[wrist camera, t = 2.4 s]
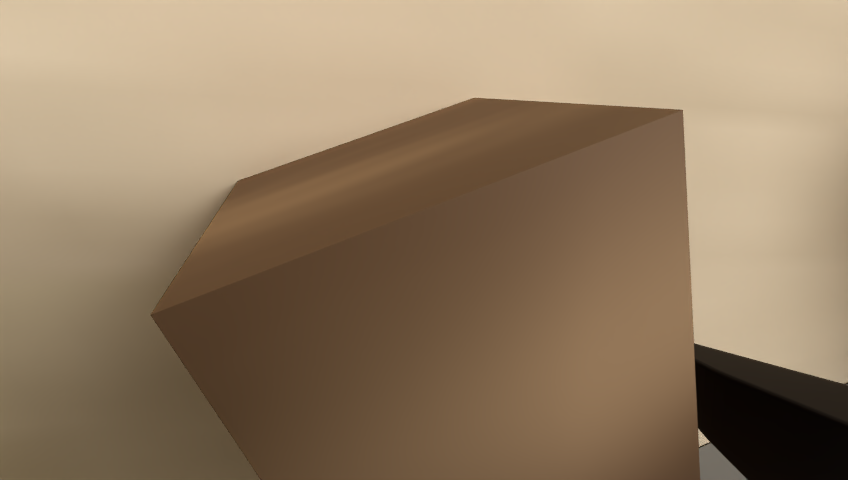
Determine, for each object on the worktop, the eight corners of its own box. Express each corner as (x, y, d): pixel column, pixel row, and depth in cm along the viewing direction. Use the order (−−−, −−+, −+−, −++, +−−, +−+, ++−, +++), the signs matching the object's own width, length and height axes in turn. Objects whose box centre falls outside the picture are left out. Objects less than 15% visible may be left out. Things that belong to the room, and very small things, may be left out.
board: (561, 471, 14) (710, 690, 9) (418, 543, 13) (491, 825, 8) (471, 97, 9) (682, 109, 4) (239, 179, 8) (151, 315, 3)
